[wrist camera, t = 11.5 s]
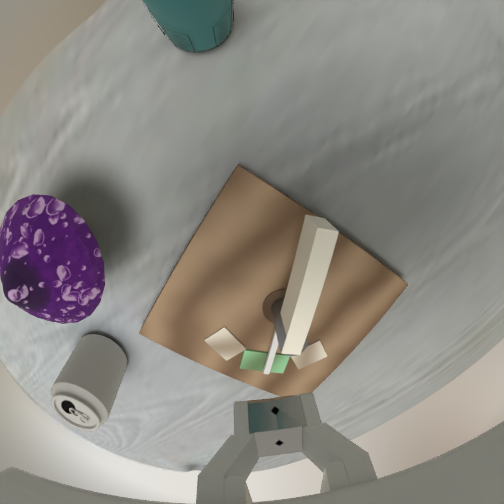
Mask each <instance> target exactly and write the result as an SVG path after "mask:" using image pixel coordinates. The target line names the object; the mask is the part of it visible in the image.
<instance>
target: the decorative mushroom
mask: <svg viewBox="0 0 504 504" xmlns="http://www.w3.org/2000/svg"><path fill="white" fill-rule="evenodd" d="M0 277H1V282H2V284H3V291H4V294H5V297H6V298H7V299H8V300H9V301H10V302H11V303H13V304H15V305H17V306H18V307H19V308H21V309H23V310H24V311H26V312H28V313H29V314H31V315H33V316H36V317H38V318H41V319H44V320H48V321H52V322H58V323H62V324H64V323H75V322H79V321H81V320H83V319H84V318H86V317H88V316H90V315H91V314H92V313H93V311H94V310H95V309H96V307H97V306H98V305H99V303H100V301H101V297H102V294H103V290H104V286H105V276H104V262H103V259H102V256H101V253H100V250H99V246H98V243H97V240H96V239H95V237H94V236H93V234H92V232H91V231H90V229H89V227H88V226H87V224H86V222H85V221H84V220H83V219H82V218H81V217H80V216H79V215H78V214H77V213H76V212H75V211H74V210H73V209H72V208H71V207H70V206H69V205H68V204H66V203H64V202H62V201H60V200H58V199H56V198H54V197H52V196H47V195H30V196H28V197H25V198H23V199H20V200H18V201H17V202H16V203H15V204H14V205H13V206H12V207H11V208H10V209H9V210H8V211H7V213H6V215H5V218H4V220H3V222H2V225H1V227H0Z"/></svg>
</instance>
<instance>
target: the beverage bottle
mask: <svg viewBox="0 0 504 504" xmlns="http://www.w3.org/2000/svg"><path fill="white" fill-rule="evenodd" d="M143 2H144V3H145V4H146V6H147V7H148V9H149V11H150V13H151V14H152V15H153V18H155V19H156V21H157V22H158V23H159V25H160V26H161V27H162V29H163V30H164V32H165V34H167V36H168V37H169V38H170V40H171V41H172V42H173V43H174V44H175V46H177V47H179V48H181V49H183V51H184V50H187V52H188V51H193V52H199V51H205V50H209V49H212V48H214V47H216V46H217V45H219V44H220V43H221V42H222V41H223V40H225V39H226V37H227V36H228V34H229V32H230V33H231V27H232V14H233V22H234V9H233V13H232V0H143ZM233 2H234V1H233ZM233 5H234V3H233ZM151 14H150V15H151ZM157 25H158V24H157ZM158 27H159V26H158ZM159 28H160V27H159ZM160 29H161V28H160ZM161 31H162V30H161ZM162 32H163V31H162ZM164 32H163V33H164ZM165 34H164V35H165ZM227 38H228V37H227ZM222 43H223V42H222ZM179 48H178V49H179Z"/></svg>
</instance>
